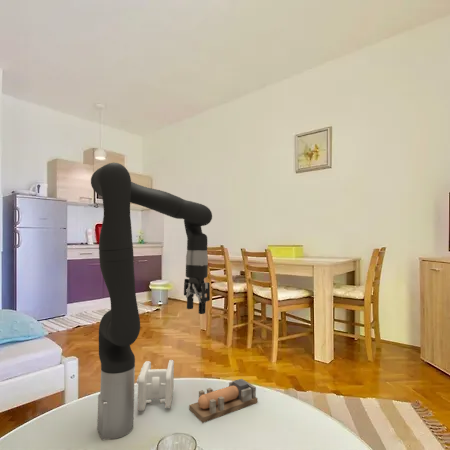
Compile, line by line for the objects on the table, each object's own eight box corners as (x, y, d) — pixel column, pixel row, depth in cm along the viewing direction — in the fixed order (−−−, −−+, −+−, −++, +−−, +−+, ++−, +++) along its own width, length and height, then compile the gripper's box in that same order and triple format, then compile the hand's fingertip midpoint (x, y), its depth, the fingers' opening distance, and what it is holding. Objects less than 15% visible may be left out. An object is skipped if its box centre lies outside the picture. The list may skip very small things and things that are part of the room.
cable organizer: (170, 414, 96) (171, 375, 96) (135, 415, 95) (136, 376, 95) (173, 391, 111) (174, 357, 111) (143, 392, 110) (144, 358, 110)
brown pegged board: (202, 422, 91) (202, 405, 91) (189, 409, 98) (189, 393, 99) (257, 402, 103) (257, 387, 103) (241, 392, 110) (241, 377, 110)
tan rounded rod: (202, 413, 94) (202, 398, 94) (195, 407, 97) (195, 392, 97) (247, 397, 103) (247, 383, 104) (239, 392, 107) (239, 379, 107)
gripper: (178, 262, 110) (176, 308, 109) (197, 265, 99) (196, 316, 98) (196, 262, 115) (195, 306, 114) (217, 264, 103) (216, 314, 102)
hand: (195, 311), depth 106 cm, fingers open, 8 cm apart
